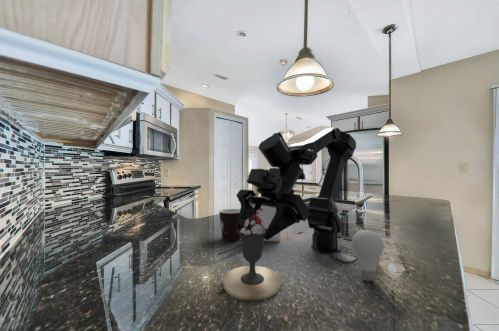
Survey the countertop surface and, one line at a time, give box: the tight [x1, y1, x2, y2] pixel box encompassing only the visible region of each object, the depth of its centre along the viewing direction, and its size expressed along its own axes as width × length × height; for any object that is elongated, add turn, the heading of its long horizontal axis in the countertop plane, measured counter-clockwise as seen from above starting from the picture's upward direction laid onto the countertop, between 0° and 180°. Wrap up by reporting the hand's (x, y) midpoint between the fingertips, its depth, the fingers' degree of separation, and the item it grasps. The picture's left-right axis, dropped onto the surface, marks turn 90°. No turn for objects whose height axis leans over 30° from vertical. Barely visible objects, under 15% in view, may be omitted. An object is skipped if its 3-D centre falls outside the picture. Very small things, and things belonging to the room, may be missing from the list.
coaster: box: [222, 265, 281, 301], centre depth 46 cm, size 12×12×1 cm
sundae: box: [237, 208, 267, 285], centre depth 46 cm, size 7×7×15 cm
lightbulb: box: [351, 229, 384, 282], centre depth 47 cm, size 6×6×11 cm
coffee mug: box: [218, 208, 241, 243], centre depth 78 cm, size 12×9×10 cm
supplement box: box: [256, 194, 282, 243], centre depth 79 cm, size 9×9×15 cm
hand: (250, 233), depth 46 cm, fingers open, 9 cm apart
